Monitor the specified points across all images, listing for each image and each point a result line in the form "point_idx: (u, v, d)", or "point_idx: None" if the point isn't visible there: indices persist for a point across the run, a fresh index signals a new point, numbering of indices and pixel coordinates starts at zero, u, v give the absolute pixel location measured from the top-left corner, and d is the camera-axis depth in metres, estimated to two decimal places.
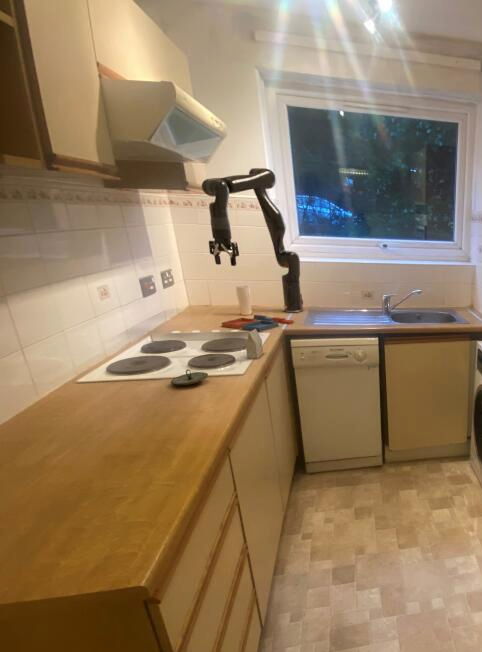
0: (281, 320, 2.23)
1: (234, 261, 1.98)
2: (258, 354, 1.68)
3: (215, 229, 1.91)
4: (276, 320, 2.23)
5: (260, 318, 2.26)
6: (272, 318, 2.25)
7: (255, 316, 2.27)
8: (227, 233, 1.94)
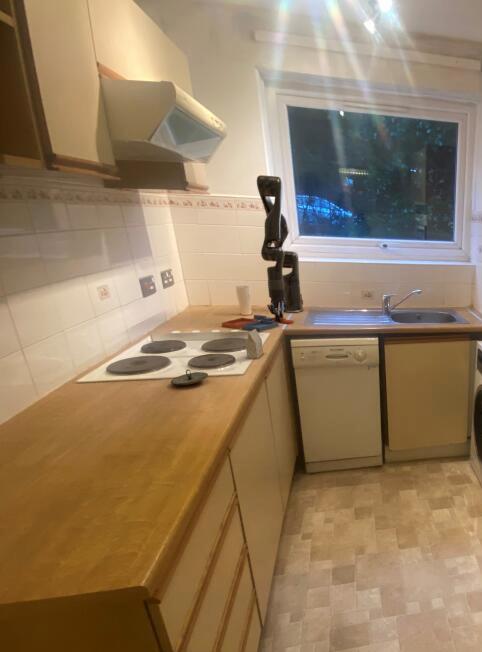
0: (281, 320, 2.23)
1: (276, 318, 2.22)
2: (258, 354, 1.68)
3: None
4: None
5: (260, 318, 2.26)
6: (272, 318, 2.25)
7: (255, 316, 2.27)
8: (271, 293, 2.16)
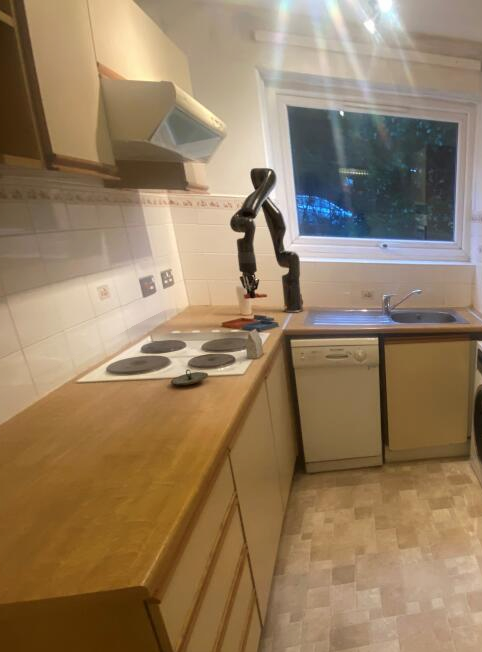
0: (256, 295, 2.13)
1: (253, 294, 2.10)
2: (258, 354, 1.68)
3: (240, 263, 2.03)
4: None
5: (260, 318, 2.26)
6: (272, 318, 2.25)
7: (255, 316, 2.27)
8: (251, 266, 2.05)
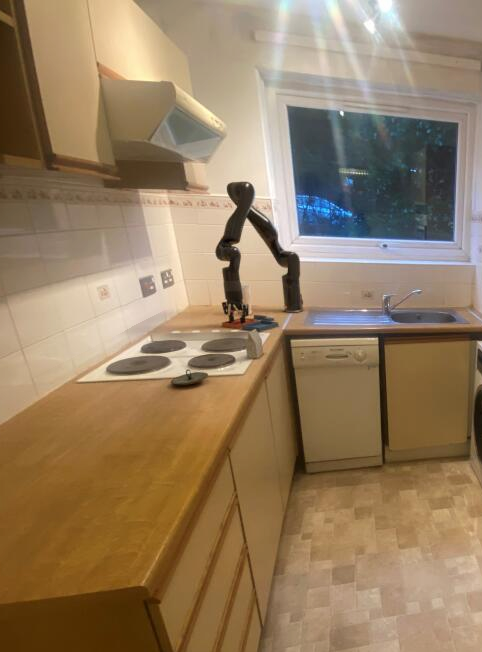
0: None
1: (244, 321, 2.10)
2: (258, 354, 1.68)
3: (228, 292, 2.03)
4: None
5: (260, 318, 2.26)
6: (272, 318, 2.25)
7: (255, 316, 2.27)
8: (239, 294, 2.06)
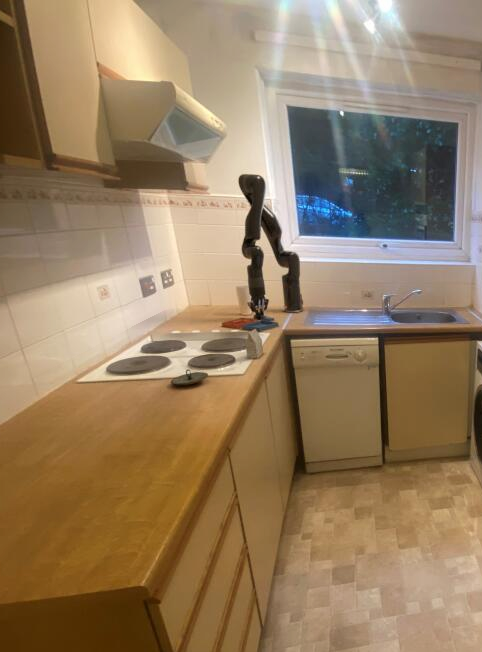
0: (242, 322, 2.13)
1: (256, 316, 2.25)
2: (258, 354, 1.68)
3: None
4: None
5: None
6: (272, 318, 2.26)
7: (255, 316, 2.27)
8: (251, 290, 2.19)
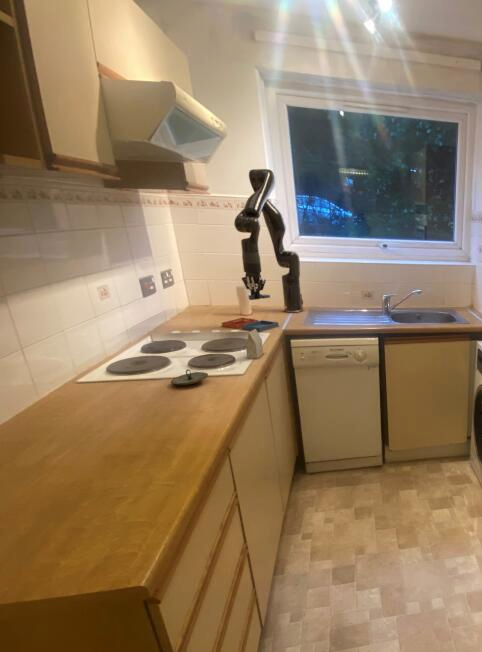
0: (242, 322, 2.13)
1: (258, 295, 2.08)
2: (258, 354, 1.68)
3: (246, 263, 2.00)
4: None
5: None
6: None
7: (253, 296, 2.07)
8: (257, 267, 2.02)
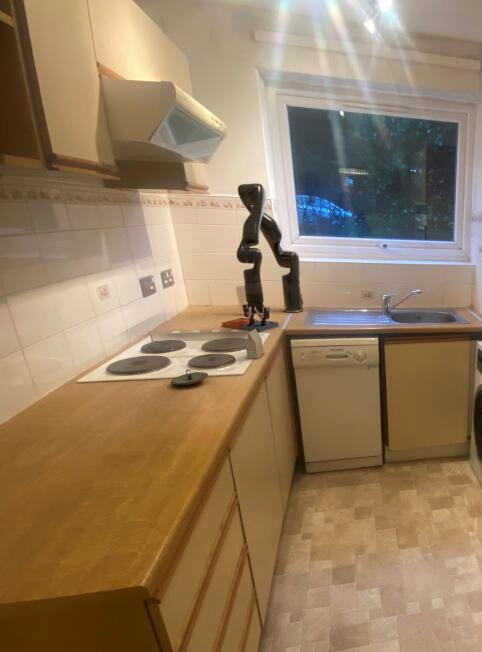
0: (242, 322, 2.13)
1: (264, 324, 2.07)
2: (258, 354, 1.68)
3: (249, 294, 2.00)
4: None
5: (260, 326, 2.10)
6: (267, 322, 2.15)
7: (256, 325, 2.07)
8: (260, 297, 2.03)
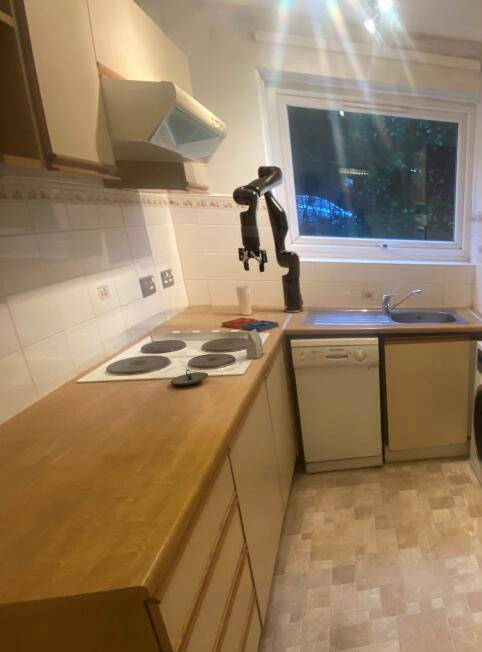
0: (242, 322, 2.13)
1: (263, 267, 2.05)
2: (258, 354, 1.68)
3: (245, 237, 1.98)
4: None
5: (260, 326, 2.10)
6: (267, 322, 2.15)
7: (256, 325, 2.07)
8: (256, 241, 2.01)
